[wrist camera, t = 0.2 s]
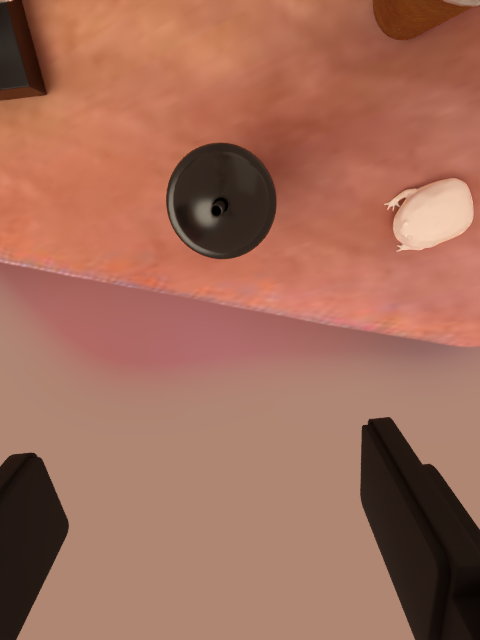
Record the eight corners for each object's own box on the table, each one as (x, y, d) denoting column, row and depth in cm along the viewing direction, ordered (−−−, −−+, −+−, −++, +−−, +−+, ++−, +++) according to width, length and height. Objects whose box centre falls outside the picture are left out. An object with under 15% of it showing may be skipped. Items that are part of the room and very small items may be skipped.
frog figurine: (394, 258, 39) (410, 265, 35) (378, 200, 36) (393, 202, 33) (464, 228, 38) (488, 233, 34) (453, 167, 35) (477, 165, 32)
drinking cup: (205, 243, 38) (176, 300, 19) (179, 173, 35) (116, 159, 17) (271, 220, 37) (306, 256, 19) (249, 146, 34) (265, 101, 16)
